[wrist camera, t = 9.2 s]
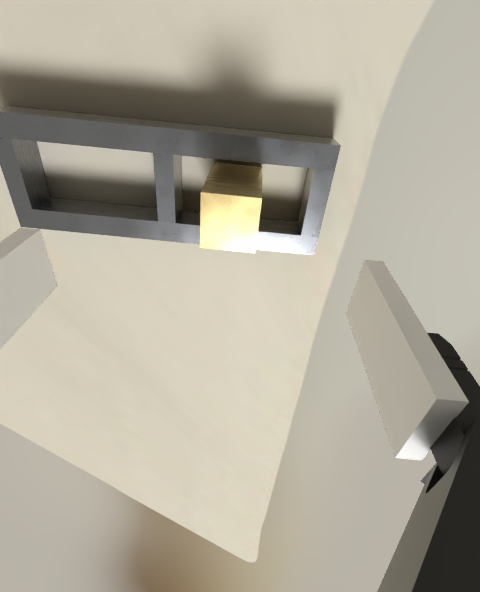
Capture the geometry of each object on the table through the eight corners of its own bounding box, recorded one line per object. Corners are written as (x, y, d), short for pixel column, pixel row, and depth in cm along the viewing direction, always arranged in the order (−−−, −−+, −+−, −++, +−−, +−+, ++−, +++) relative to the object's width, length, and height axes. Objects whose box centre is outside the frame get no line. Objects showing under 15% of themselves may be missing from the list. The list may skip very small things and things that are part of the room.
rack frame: (8, 105, 26) (-19, 109, 23) (333, 138, 26) (340, 145, 23) (39, 214, 31) (20, 226, 28) (309, 240, 31) (314, 255, 29)
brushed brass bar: (215, 162, 27) (200, 192, 21) (261, 167, 27) (262, 198, 21) (213, 208, 30) (199, 247, 23) (256, 212, 30) (255, 253, 23)
